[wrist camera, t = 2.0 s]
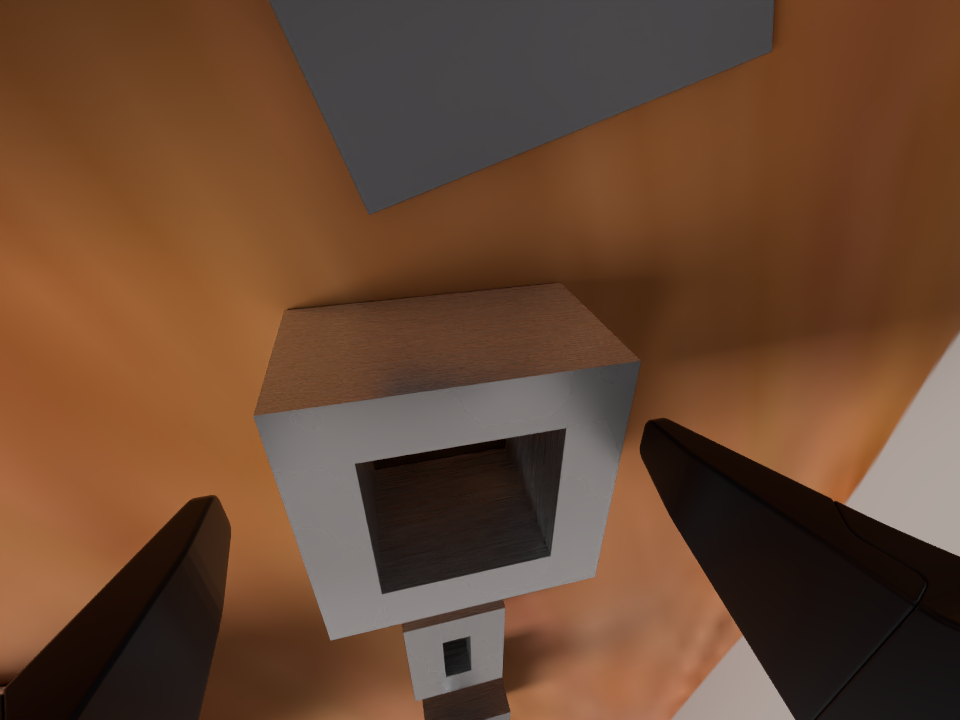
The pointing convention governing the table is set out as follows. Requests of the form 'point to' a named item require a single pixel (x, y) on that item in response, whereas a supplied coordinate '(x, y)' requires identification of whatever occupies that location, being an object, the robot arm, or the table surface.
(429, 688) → the link
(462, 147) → the grey peg holder
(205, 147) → the table surface
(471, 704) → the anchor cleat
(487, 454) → the end link
